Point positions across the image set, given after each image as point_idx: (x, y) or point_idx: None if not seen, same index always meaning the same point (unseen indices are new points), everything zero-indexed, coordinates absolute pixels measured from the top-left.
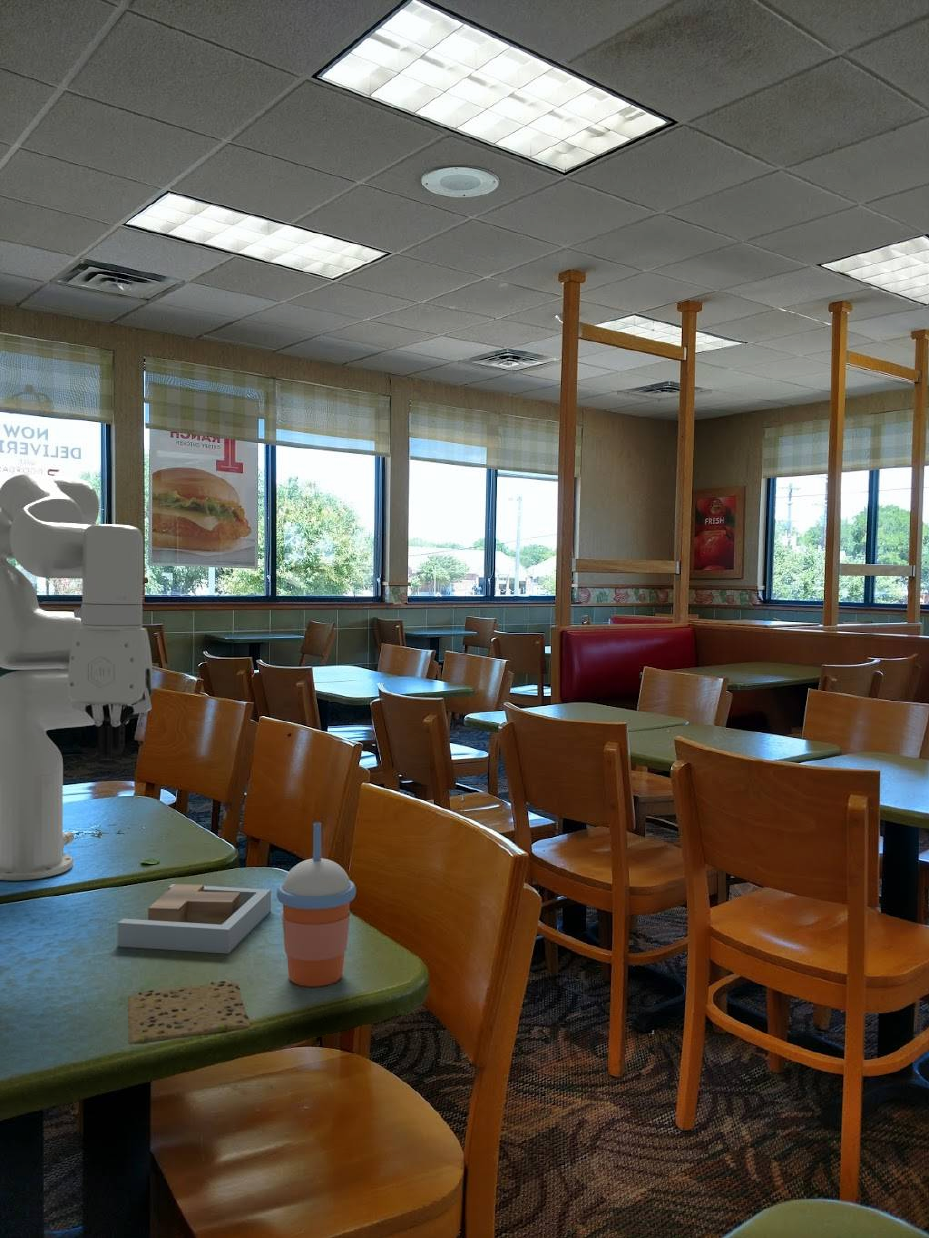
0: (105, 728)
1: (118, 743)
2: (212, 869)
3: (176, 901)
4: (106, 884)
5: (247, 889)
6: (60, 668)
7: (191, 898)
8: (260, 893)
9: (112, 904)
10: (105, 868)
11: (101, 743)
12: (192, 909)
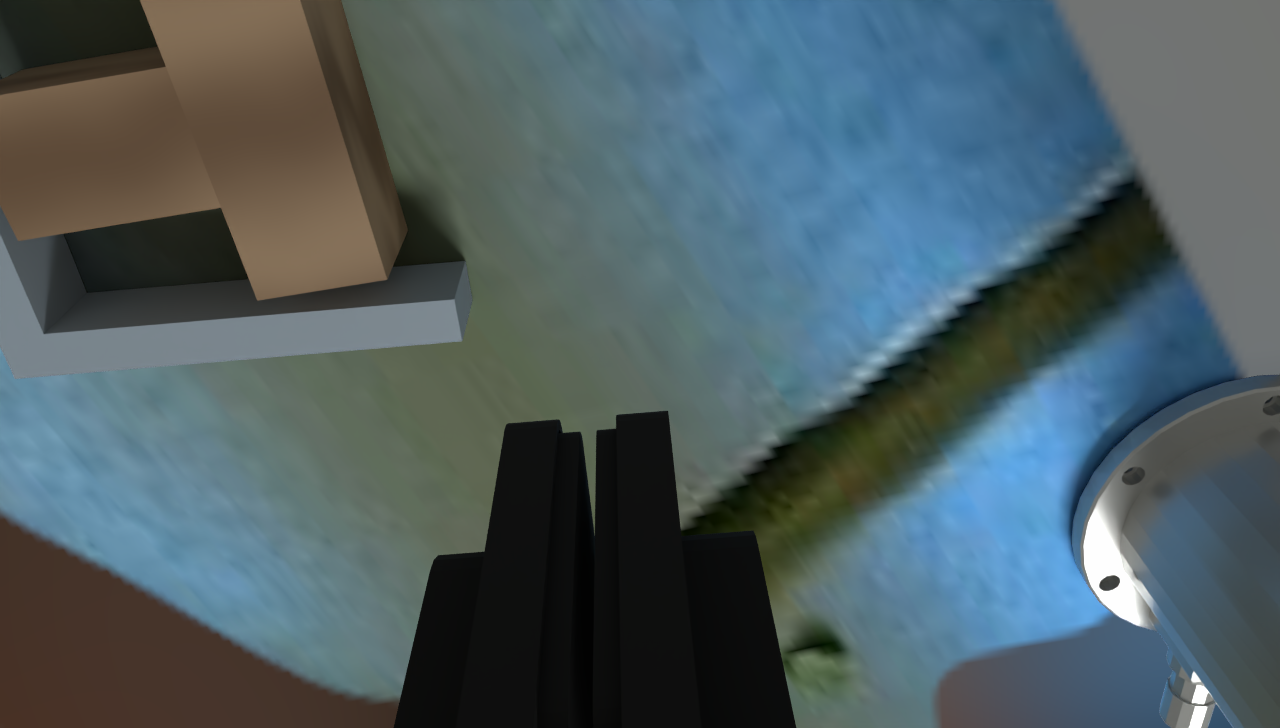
0: (598, 724)
1: (433, 596)
2: None
3: (208, 49)
4: (855, 437)
5: (108, 355)
6: None
7: (173, 109)
8: (19, 325)
9: (709, 249)
10: (947, 578)
11: (648, 505)
12: (154, 62)
